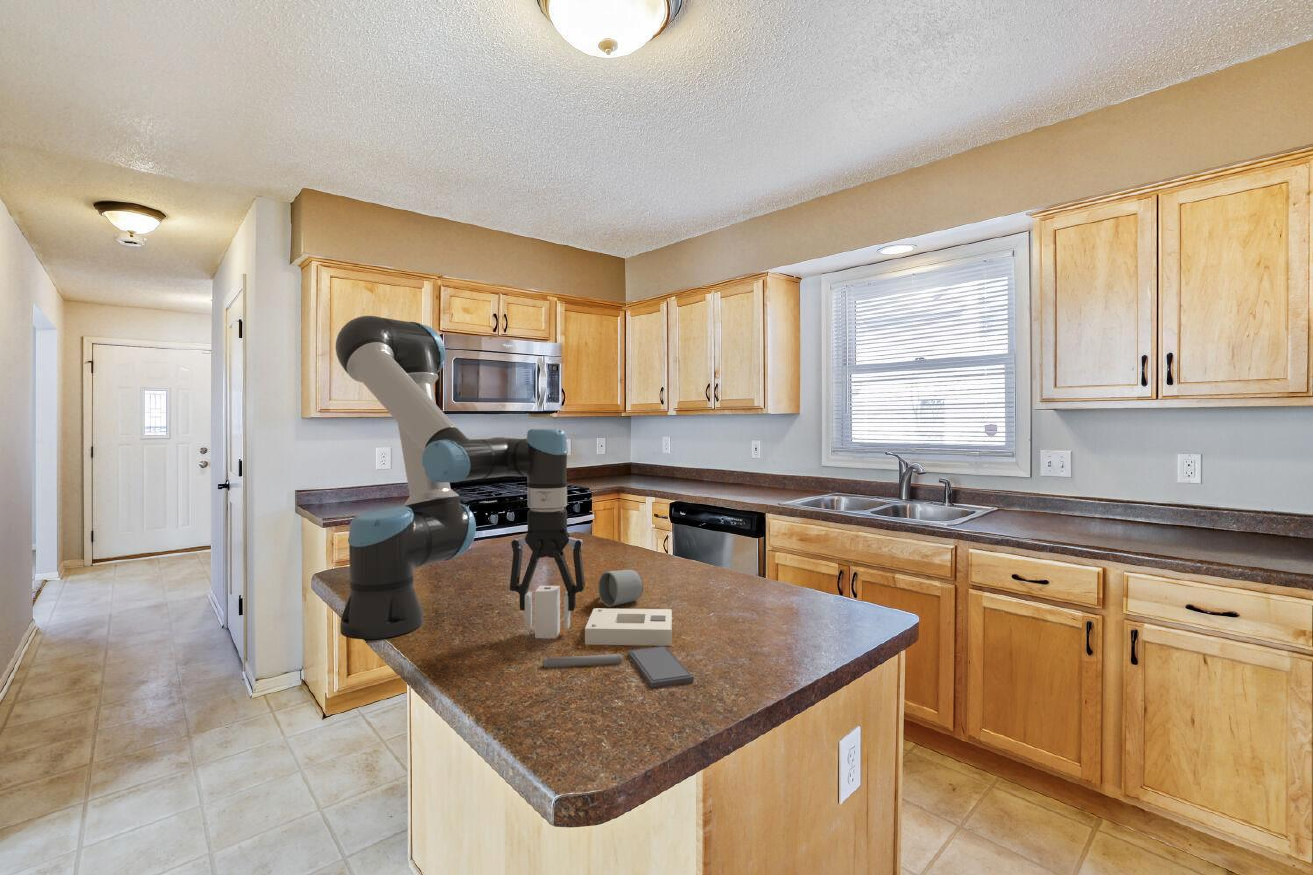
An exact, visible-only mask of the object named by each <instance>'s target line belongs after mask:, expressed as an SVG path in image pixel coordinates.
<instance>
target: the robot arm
mask: <svg viewBox="0 0 1313 875" xmlns="http://www.w3.org/2000/svg"><path fill="white" fill-rule="evenodd" d="M335 352H336V358H337V359H338V362H339V364H340V365H341V367H342V368H343V370H344V371H345V373H347V375H348V376H349V377H350V379H352V380H354V381H356V382H359V383H363V385H364V386H365V387H366V388H367V389H368V390H369V392H370V393H371V394H372V395H373V396H374V397H375V398H376V400H377V401H378V402H379V403H380V404H381V405H382V407H384V408H385V410H386V411H387V412H388V414H390V415H391V417H392V418H393V419H394V420H395V421H396V423H397V427H398V433H399V439H400V445H401V450H402V455H403V456H402V458H403V464H404V468H405V475H406V481H407V486H408V494H409V497H408V498H407V500H406V501H405V502H404V504H403V505H400V506H399V505H398V506H395V505H394V506H388V507H380V508H374V509H369V510H366V511H364V512H361V513H360V514H357V515H355V516H354V517H353V518H352V519H351V521H350V523H349V530H348V531H349V532H348V538H347V542H348V548H349V550H348V551H349V552H348V553H349V594H348V596H347V600H346V602H345V603H346V604H345V606H344V609H343V612H342V615H341V617H340V622H339V623H340V634H341V635H342V636H343V637H344V638H349V639H353V640H376V639H377V640H378V639H386V638H392V637H396V636H400V635H404V634H407V633H410V632H413V631H415V630H417V629H418V628H420V627H421V626H422V625H423V622H424V611H423V607H422V604H421V602H420V599H419V597H418V596H419V595H418V594H417V592H416V588H415V585H414V568H418V567H422V566H426V565H430V564H433V563H438V562H441V561H442V562H443V561H449V560H451V559H453V558H456V557H460V556H462V555H463V554H465V553H466V552H467V551H468V550H469V549H470V548H471V545H472V544H473V542H474V540H475V537H476V531H477V530H476V529H477V523H476V518H475V516H474V513H473V512H472V510H470V508H469V507H468V506H467V505H465V504H463V503H461V498H460V495H459V493H457V492H456V491H455V490H453V489H451V483H459V482H464V481H465V482H466V481H472V480H479V479H482V480H483V479H491V478H501V477H523V478H524V477H526V478H527V484H526V485H527V492H526V494H527V499H526V500H527V507H528V508H529V509H528V511H527V533H526V535H525V536H524V537H520V538H519V537H515V538H514V539H513V540H512V541H511V542H510V544H511V549H512V563H511V571H510V572H511V573H510V581H509V590H510V591H511V592H516V593H518V594H519V610H520V611H524V629H525V630H529V629H530V627H531V626H532V625H533V591H529V588H530V585H531V581H532V579H533V576H534V574H535V571H536V569H537V566H538V563H539V560H540V558H541V559H542V558H550V559H554V561H555V563H556V565H557V568H558V570H559V573H560V576H561V579H562V581H563V584H564V587H565V589H566V590H565V594H564V595H563V630H569V628H570V626H571V612H573V611H575V609H576V606H577V605H576V595H577V593H582V592H583V591H584V589H585V587H586V582H585V574H584V565H583V556H582V555H583V554H582V549H583V545H584V540H583V539H582V538H574V537H570V534H569V532H568V511H567V509H565V508H566V507H567V506H568V484H567V483H568V482H567V468H568V466H567V464H568V454H569V450H568V446H567V445H568V443H567V434H566V432H565V431H564V430H563V429H561V428H530V429H529V430H528V431H527V432H526V438H513V437H502V436H501V437H489V438H481V439H480V438H478V439H475V438H474V439H472V438H471V439H470V438H468V437H467V436H466V435H465V434H464V433H463V432H462V431H461V429H459V428H458V427H457V426H456V425H455V424H454V423H453V421H452V420H450V418H449V417H448V416H447V415H446V414H445V413H444V412H443V411H442V410H441V409H440V407H439V406H438V405H437V403H436V402H437V401H436V397H435V396H436V395H435V391H434V384H435V383H436V382H437V381H438V380H439V372H441V370H442V369H443V367H444V365H445V364H444V361H445V360H446V346H445V343H444V340H443V339H442V337H441V336H440V334H439V333H438V332H437V330H435V329H433V328H432V327H431V326H429V325H426V324H422V323H419V322H415V321H405V320H397V319H393V318H387V317H380V316H376V315H363V316H358V317H355V318H353V319H350V320H349V321H348V322H346V323H345V325H343V326H342V327H341V329H340V331H339V332H338V335H337V337H336V341H335ZM568 544H569V545H570V549H571V550H572V557H573V558H572V559H573V566H574V575H575V582H574V580H573V577H572V574H571V571H570V569H569V566H568V563H567V560H566V555H565V553H564V550H565V548H566V546H567V545H568ZM526 545H527V546H528V548H529V549H530V550H531V551H532V552H531V556H530V558H529V563H528V565H527V568H526V571H525V573H524V575H523V579H522V581H521V580H520V579H521V573H522V572H521V570H522V560H523V549H524V548H525V546H526ZM520 581H521V583H520Z"/></svg>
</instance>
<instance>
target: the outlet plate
mask: <svg viewBox="0 0 1313 875" xmlns="http://www.w3.org/2000/svg"><path fill="white" fill-rule="evenodd" d="M672 628H673V609H671V608H670V609H669V608H665V609H664V608H662V609H661V608H597V607H596V608H593V609H592V612H591V614H590V615H589V618H588V621H587V623H586V625H585V628H584V645H587V646H589V645H590V646H591V645H593V646H596V645H598V646H654V647H660V646H666V647H671V646H672V639H673V638H672V636H673V635H672V633H673V632H672V631H673V629H672Z"/></svg>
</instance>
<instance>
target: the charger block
mask: <svg viewBox="0 0 1313 875" xmlns="http://www.w3.org/2000/svg"><path fill="white" fill-rule="evenodd" d="M534 606H535V607H534V635H535V636H534V638H535V639H557V638H558V636H559V633H560V632H561V586H560V585H538V587H537V588H536V590H534Z"/></svg>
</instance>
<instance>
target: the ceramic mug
mask: <svg viewBox="0 0 1313 875" xmlns="http://www.w3.org/2000/svg"><path fill="white" fill-rule="evenodd" d="M643 593H644V581H643V578H642V576H641V575H640V573H639V572H638V571H637V570H634V569H623V570H610V571H609V570H608V571H605V572H603V573H602V574H601V576H600V578H599V580H598V596H599V598H600V600H601V601H602V603H603V604H604V605H605V606H606V607H608V608H609V607H610V608H611V607H616V606H620V605H624V604H629V603H632V602H635V601H638V600H639V599H640V598H641V597H642V595H643Z"/></svg>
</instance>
